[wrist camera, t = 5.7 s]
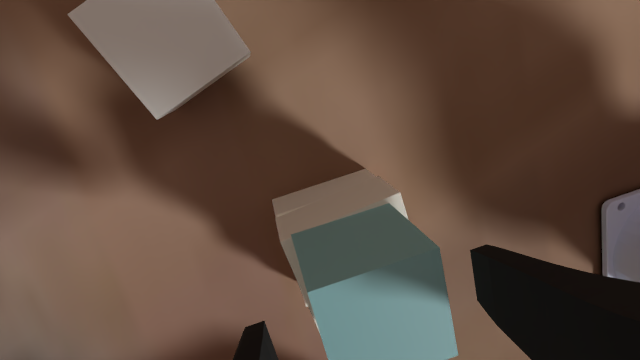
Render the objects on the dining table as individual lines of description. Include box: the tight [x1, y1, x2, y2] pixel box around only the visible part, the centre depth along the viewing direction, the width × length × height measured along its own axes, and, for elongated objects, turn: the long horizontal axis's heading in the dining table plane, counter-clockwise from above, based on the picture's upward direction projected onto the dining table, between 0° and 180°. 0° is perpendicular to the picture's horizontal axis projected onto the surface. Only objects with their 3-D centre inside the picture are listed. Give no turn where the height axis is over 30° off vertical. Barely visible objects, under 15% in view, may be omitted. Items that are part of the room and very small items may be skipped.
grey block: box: [67, 0, 251, 120], centre depth 14 cm, size 4×4×4 cm
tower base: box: [272, 169, 376, 307], centre depth 19 cm, size 5×5×2 cm
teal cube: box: [291, 203, 458, 360], centre depth 13 cm, size 4×4×4 cm
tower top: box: [275, 176, 408, 330], centre depth 16 cm, size 5×5×2 cm
